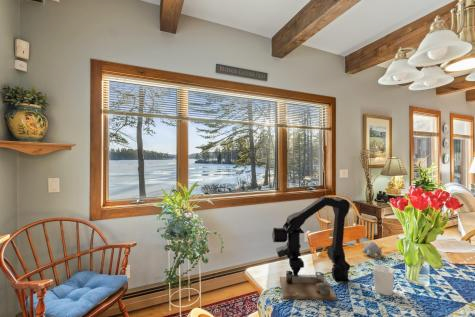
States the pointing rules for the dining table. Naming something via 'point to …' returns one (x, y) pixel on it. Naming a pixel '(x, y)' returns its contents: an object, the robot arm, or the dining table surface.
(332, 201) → the robot arm
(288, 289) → the base
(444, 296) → the dining table surface
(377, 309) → the dining table surface
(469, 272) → the dining table surface
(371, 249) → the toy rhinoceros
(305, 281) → the lever
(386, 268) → the white cup
